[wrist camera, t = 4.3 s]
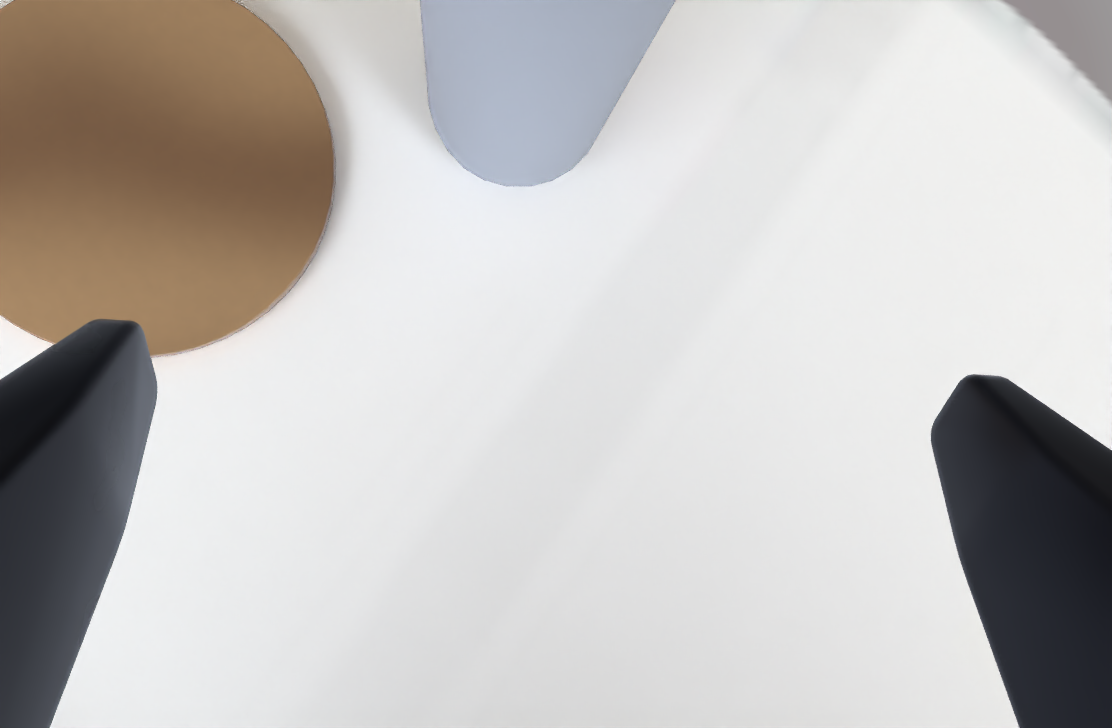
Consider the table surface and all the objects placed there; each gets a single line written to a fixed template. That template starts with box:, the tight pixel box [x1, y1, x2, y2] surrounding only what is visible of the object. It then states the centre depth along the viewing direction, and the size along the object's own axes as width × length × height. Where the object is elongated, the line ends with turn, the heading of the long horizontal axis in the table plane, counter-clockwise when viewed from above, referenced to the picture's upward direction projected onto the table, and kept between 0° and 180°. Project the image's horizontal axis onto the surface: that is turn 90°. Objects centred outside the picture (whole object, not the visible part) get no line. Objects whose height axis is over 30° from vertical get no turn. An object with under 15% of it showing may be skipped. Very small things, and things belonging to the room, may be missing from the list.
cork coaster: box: [0, 0, 335, 358], centre depth 21 cm, size 10×10×1 cm
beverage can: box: [420, 0, 675, 186], centre depth 17 cm, size 5×5×12 cm
